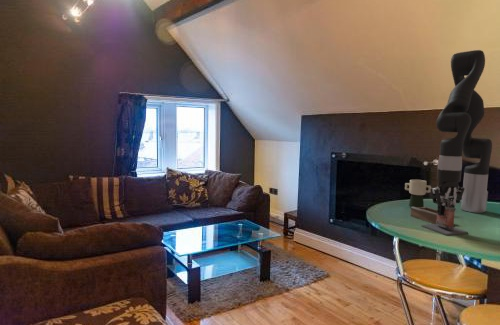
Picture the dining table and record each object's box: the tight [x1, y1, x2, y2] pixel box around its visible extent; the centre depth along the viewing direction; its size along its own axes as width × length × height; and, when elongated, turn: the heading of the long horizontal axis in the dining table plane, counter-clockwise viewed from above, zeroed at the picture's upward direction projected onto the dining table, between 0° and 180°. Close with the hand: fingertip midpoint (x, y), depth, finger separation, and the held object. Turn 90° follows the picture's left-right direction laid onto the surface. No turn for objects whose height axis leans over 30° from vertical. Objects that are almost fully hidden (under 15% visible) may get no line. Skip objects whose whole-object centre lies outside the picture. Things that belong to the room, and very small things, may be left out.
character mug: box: [404, 179, 432, 208], centre depth 161 cm, size 11×7×13 cm, turn 56°
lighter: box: [436, 199, 456, 229], centre depth 127 cm, size 8×3×10 cm, turn 5°
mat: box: [421, 223, 469, 236], centre depth 127 cm, size 10×11×1 cm
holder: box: [410, 206, 438, 224], centre depth 141 cm, size 8×13×4 cm, turn 18°
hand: (445, 214), depth 127 cm, fingers closed on lighter, 4 cm apart
